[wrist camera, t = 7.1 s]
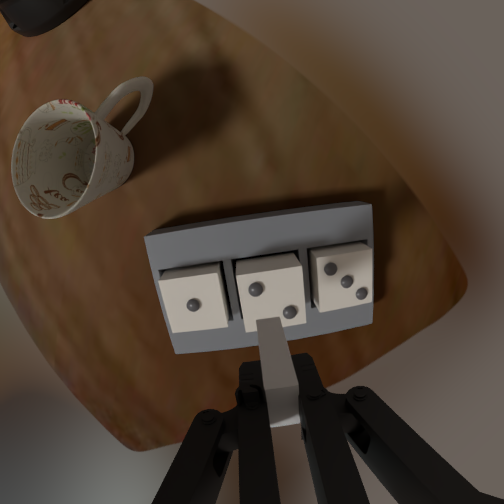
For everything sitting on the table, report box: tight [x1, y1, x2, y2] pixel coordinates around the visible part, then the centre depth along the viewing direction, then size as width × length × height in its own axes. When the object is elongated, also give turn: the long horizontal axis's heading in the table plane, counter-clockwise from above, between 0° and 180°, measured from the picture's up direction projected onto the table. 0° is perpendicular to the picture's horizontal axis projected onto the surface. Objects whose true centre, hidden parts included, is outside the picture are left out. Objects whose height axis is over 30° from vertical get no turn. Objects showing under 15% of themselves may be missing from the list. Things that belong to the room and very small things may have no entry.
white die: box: [236, 252, 306, 333], centre depth 24 cm, size 5×5×4 cm
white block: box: [158, 261, 229, 333], centre depth 25 cm, size 5×5×4 cm
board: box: [144, 201, 374, 354], centre depth 27 cm, size 12×20×3 cm, turn 98°
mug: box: [11, 77, 153, 219], centre depth 19 cm, size 8×13×10 cm, turn 137°
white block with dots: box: [307, 241, 372, 313], centre depth 25 cm, size 5×5×4 cm
